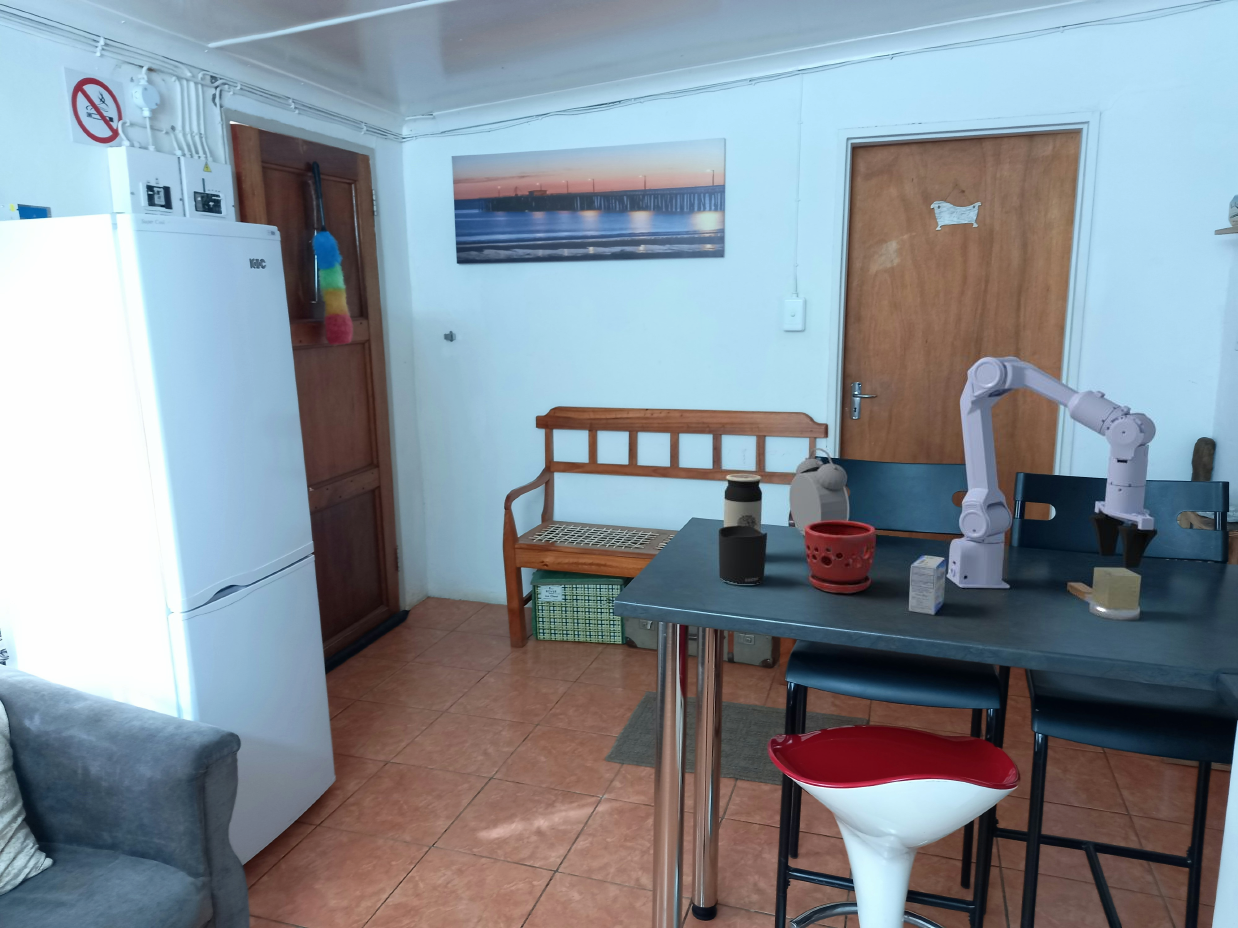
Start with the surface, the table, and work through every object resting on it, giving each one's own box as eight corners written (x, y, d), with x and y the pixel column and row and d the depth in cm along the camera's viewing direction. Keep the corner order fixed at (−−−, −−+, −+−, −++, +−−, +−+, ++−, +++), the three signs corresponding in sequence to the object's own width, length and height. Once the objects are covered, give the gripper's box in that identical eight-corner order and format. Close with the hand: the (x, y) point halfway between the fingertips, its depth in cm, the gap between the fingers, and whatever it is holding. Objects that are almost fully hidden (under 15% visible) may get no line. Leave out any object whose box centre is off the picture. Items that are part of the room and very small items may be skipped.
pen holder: (713, 584, 166) (714, 534, 165) (722, 572, 175) (723, 524, 173) (762, 589, 163) (763, 538, 162) (768, 576, 172) (770, 527, 171)
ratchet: (1148, 621, 146) (1151, 595, 145) (1103, 620, 146) (1105, 594, 146) (1093, 590, 164) (1096, 567, 163) (1053, 589, 164) (1055, 566, 163)
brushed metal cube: (1106, 609, 147) (1110, 575, 146) (1091, 600, 152) (1094, 567, 151) (1137, 609, 147) (1141, 575, 146) (1121, 600, 152) (1124, 567, 151)
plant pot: (818, 574, 174) (820, 516, 172) (882, 585, 166) (885, 525, 165) (791, 589, 163) (794, 528, 161) (858, 601, 156) (862, 537, 154)
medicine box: (934, 616, 148) (937, 567, 147) (907, 611, 150) (910, 563, 149) (943, 604, 155) (946, 557, 153) (918, 600, 157) (921, 554, 156)
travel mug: (723, 552, 190) (725, 473, 188) (759, 554, 189) (762, 474, 187) (722, 562, 183) (724, 479, 180) (760, 563, 181) (763, 480, 179)
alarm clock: (851, 546, 197) (856, 452, 193) (818, 549, 194) (822, 453, 191) (815, 531, 212) (819, 443, 209) (784, 533, 210) (787, 444, 207)
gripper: (1175, 492, 139) (1167, 572, 141) (1125, 477, 154) (1118, 551, 156) (1132, 491, 139) (1124, 572, 141) (1086, 477, 154) (1079, 550, 156)
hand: (1118, 561), depth 149 cm, fingers open, 7 cm apart
